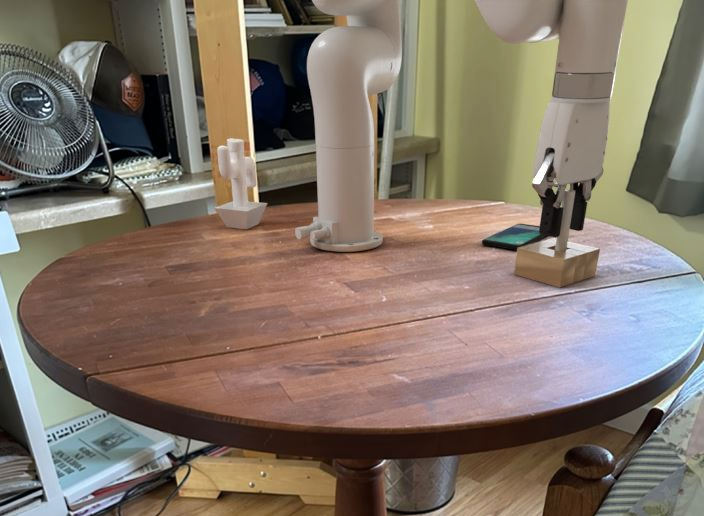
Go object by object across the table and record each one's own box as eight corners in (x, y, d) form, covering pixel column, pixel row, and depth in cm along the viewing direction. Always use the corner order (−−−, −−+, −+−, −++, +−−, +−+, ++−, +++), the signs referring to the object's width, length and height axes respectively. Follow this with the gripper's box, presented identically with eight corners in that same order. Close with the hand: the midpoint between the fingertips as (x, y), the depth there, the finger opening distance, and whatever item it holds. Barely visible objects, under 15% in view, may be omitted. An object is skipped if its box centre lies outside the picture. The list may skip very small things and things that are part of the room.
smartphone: (555, 228, 125) (518, 246, 115) (554, 232, 125) (518, 251, 115) (518, 222, 128) (479, 240, 118) (518, 227, 129) (479, 244, 119)
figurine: (271, 221, 136) (266, 136, 127) (245, 233, 128) (237, 143, 120) (240, 218, 138) (232, 134, 130) (212, 229, 131) (202, 141, 123)
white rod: (557, 278, 104) (570, 192, 97) (548, 275, 105) (561, 190, 98) (564, 276, 104) (577, 190, 98) (555, 273, 105) (568, 188, 99)
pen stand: (559, 287, 100) (564, 259, 98) (513, 274, 105) (517, 247, 103) (595, 276, 104) (600, 248, 102) (549, 263, 110) (553, 237, 107)
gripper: (596, 83, 98) (575, 218, 108) (517, 91, 89) (501, 237, 99) (645, 85, 93) (617, 227, 103) (565, 94, 84) (544, 248, 94)
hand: (561, 230), depth 101 cm, fingers open, 4 cm apart
